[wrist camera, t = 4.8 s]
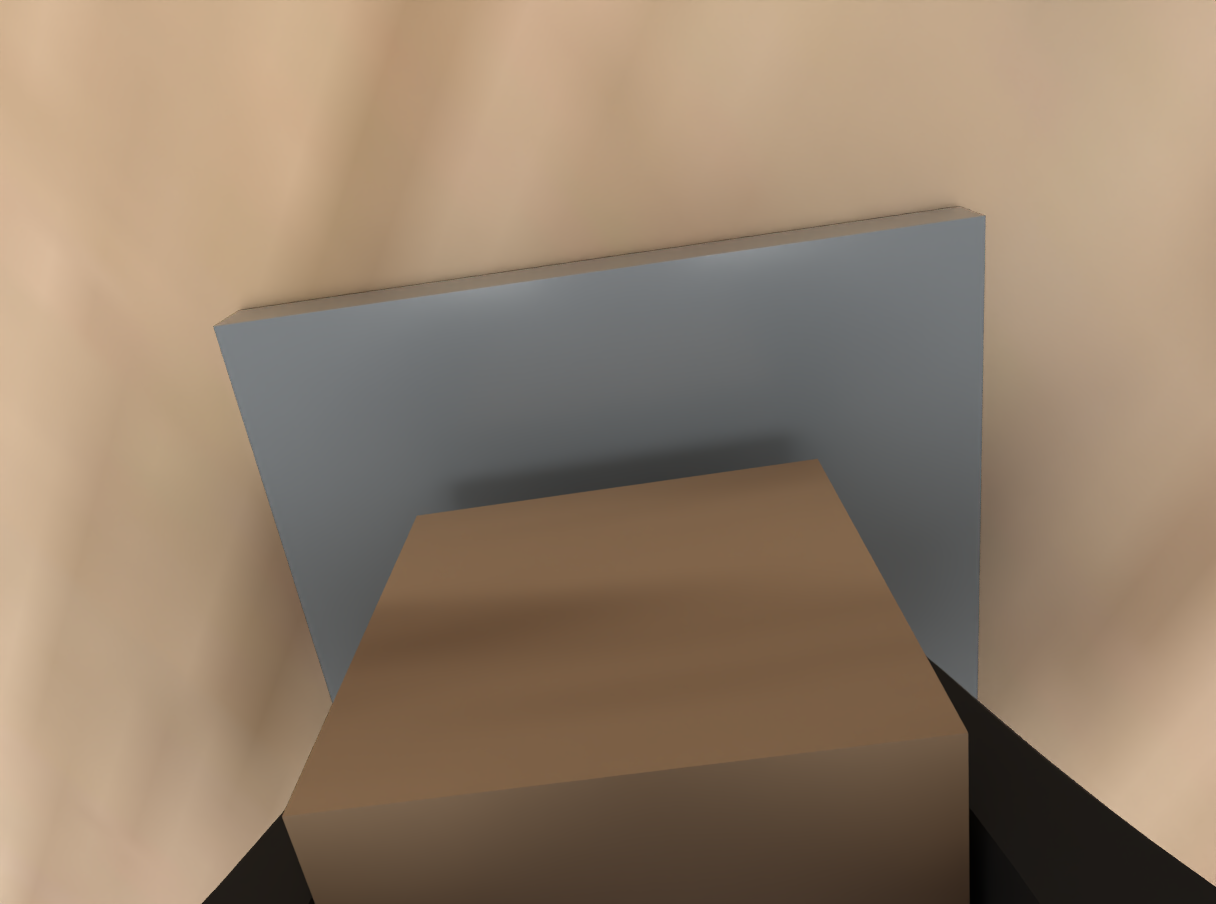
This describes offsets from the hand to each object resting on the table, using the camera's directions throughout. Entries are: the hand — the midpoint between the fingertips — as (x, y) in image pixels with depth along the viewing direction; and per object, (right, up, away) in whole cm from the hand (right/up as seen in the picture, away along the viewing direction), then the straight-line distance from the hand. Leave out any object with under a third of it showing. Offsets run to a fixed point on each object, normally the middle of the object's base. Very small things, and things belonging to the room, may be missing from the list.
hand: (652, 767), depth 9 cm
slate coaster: (0, +1, +4) cm, 4 cm away
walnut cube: (0, +1, +2) cm, 2 cm away
